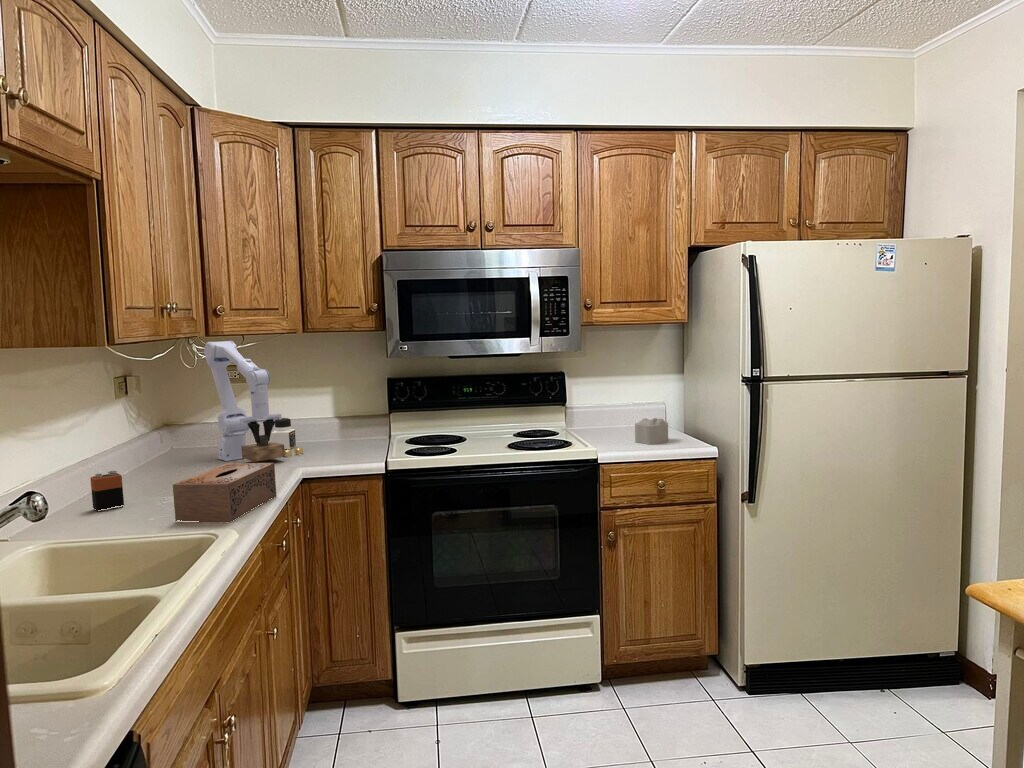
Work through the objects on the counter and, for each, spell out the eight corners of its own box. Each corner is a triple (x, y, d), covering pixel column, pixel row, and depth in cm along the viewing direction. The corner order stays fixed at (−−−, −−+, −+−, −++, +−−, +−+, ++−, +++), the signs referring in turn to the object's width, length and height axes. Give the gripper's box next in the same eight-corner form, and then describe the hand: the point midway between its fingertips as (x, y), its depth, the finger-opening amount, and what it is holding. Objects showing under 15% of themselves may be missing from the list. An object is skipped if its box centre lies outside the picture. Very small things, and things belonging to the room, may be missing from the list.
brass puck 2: (296, 455, 261) (296, 449, 261) (292, 454, 264) (292, 448, 263) (304, 454, 263) (304, 448, 263) (300, 453, 266) (300, 447, 265)
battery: (124, 507, 193) (121, 471, 192) (96, 512, 188) (93, 475, 187) (120, 504, 196) (117, 469, 195) (92, 509, 191) (89, 473, 190)
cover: (254, 461, 242) (253, 439, 242) (242, 458, 250) (240, 436, 250) (284, 456, 250) (283, 434, 249) (271, 453, 258) (270, 432, 257)
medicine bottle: (290, 449, 275) (288, 419, 274) (272, 450, 275) (270, 419, 274) (296, 446, 282) (294, 416, 281) (278, 446, 282) (276, 417, 281)
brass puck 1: (285, 457, 258) (284, 451, 258) (281, 456, 260) (280, 450, 260) (293, 456, 260) (292, 450, 260) (289, 455, 263) (288, 449, 262)
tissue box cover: (230, 523, 173) (227, 484, 172) (175, 523, 175) (172, 484, 174) (276, 497, 199) (274, 462, 198) (228, 497, 200) (226, 463, 199)
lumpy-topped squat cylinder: (631, 442, 265) (630, 419, 265) (653, 437, 273) (653, 416, 273) (652, 445, 257) (652, 422, 256) (675, 440, 265) (674, 418, 264)
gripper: (244, 406, 240) (246, 445, 242) (284, 402, 250) (286, 439, 251) (236, 405, 246) (238, 443, 247) (275, 401, 255) (278, 438, 257)
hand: (262, 441), depth 249 cm, fingers closed on cover, 3 cm apart
